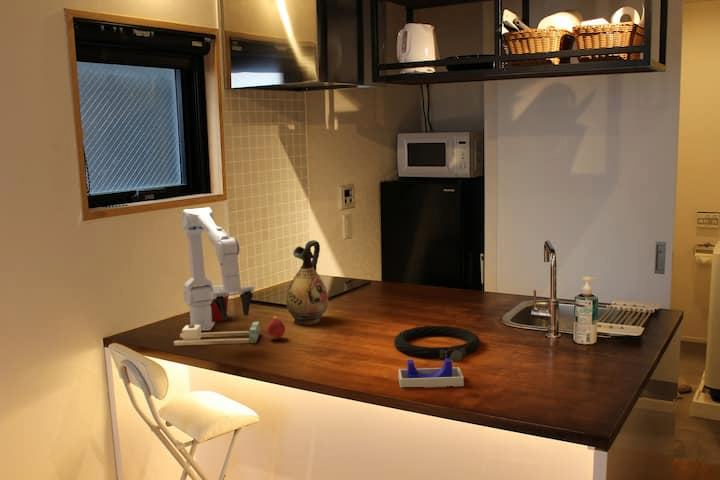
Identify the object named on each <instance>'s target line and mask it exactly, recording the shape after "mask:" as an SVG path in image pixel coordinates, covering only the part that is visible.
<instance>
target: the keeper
mask: <svg viewBox="0 0 720 480" xmlns="http://www.w3.org/2000/svg"><path fill="white" fill-rule="evenodd" d="M181 333H182V336H183V338H182V340H202V337H201V333H202V331H201V325H194V324H191V323H190V324H185V326H184V327H182V329H181Z"/></svg>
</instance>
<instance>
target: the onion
mask: <svg viewBox="0 0 720 480" xmlns="http://www.w3.org/2000/svg"><path fill="white" fill-rule="evenodd" d="M285 327H286V326H285V324H284V323H283V321H282V320H281V319H279V318H278V317H277V316H273V319H272V320H271V321H270V322H269V323H268V326H267V333H268V334H269V336H271V337H272V338H273V340H276V341H277V340H278V339H280V338H281V337H283V336H284V334H285V333H286V328H285Z"/></svg>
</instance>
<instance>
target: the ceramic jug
mask: <svg viewBox="0 0 720 480" xmlns="http://www.w3.org/2000/svg"><path fill="white" fill-rule="evenodd" d="M312 247H313V251H312V249H311V248H312ZM320 250H321V246H320V243H319V241H317V240H314V239H313V240H308V242H306V244H305V247H302V246H299V245H298V246H297V247H295V249H294V250H293V256H294V257H295V258H297V259H300V260H302V265H301V266H300V268H299V270H298V272H297V273H296V274H295V276H294V277H293V279H292V281H291V282H290V285H289V287H288V289H287V293H286V299H285V302H286V308H287V311H288V312H289V314H290V315H291V316H292V318H293V319H294V323H295V324H297V325H306V326H307V325H314V324H318V323H319V322H320V320H321V318H322V316H323V315H324V313H325V312H326V310H327V309H328V307H329V293H328V291H327V287H326V284H325V283H324V281H323V279H322V278H321V276H320V275H319V274H318V272H317V264H318V261H319V260H318V259H319V258H320V257H319V256H320V252H321V251H320Z"/></svg>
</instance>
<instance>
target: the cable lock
mask: <svg viewBox="0 0 720 480" xmlns="http://www.w3.org/2000/svg"><path fill="white" fill-rule="evenodd" d="M437 336H441V337H448V338H450V337H452V338H456V339H460V340H464V341H465V343H463V344H458V345H453V346H452V345H451V346H440V347H439V346H438V347H436V346H435V347H431V346H423V345H422V346H420V345H416V344H412V343H409V342H408V341H410V340H413V339H416V337H417V338H423V337H437ZM480 341H481V340H480V337H479V336H478V335H477V334H476V333H475V332H473V331H472V330H469V329H465V328H462V327H456V326H450V325H423V326H415V327H412V328H407V329H405V330H402V331H400V332H399V333H398V334H397V335H396V336H395V338H394V340H393V343H394V347H395V348H396V350H398V351H400V352H401V353H403V354H405V355H408V356H411V355H412V356H411V357H414V356H416V357H415V358H422V359H429V358H430V360H431V359H432V360H433V359H434V358H435V359H438V358H440V360H442V359H444V360H445V358H450V359H451V360H452V362H459V360H460V361H461V360H462V358H465V356H467V355H469V354H472V353H474V352H475V351H477V350H478V349H479V347H480V344H481V342H480ZM441 358H442V359H441Z"/></svg>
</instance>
